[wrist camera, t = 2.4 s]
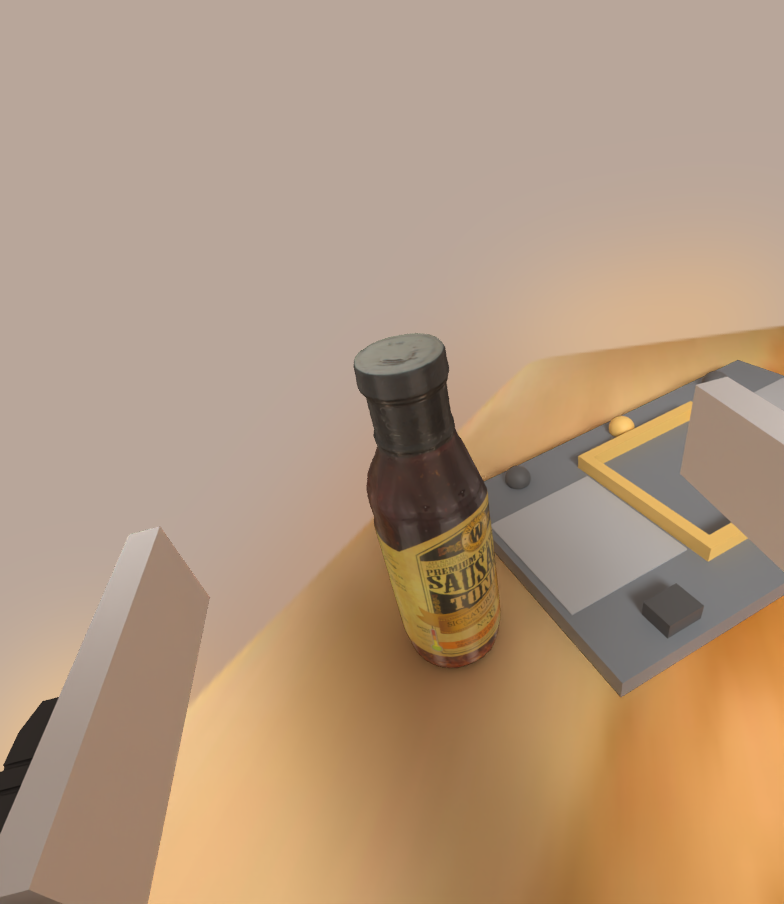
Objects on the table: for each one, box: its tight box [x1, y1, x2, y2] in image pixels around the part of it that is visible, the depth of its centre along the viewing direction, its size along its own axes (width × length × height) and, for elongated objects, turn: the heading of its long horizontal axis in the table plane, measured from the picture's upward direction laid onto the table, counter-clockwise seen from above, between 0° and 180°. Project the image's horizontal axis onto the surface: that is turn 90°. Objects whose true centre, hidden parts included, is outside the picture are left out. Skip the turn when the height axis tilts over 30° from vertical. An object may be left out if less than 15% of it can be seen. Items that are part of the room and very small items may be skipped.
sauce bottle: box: [354, 333, 500, 668], centre depth 26 cm, size 7×6×20 cm
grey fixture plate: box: [484, 360, 784, 697], centre depth 36 cm, size 31×18×3 cm, turn 114°
